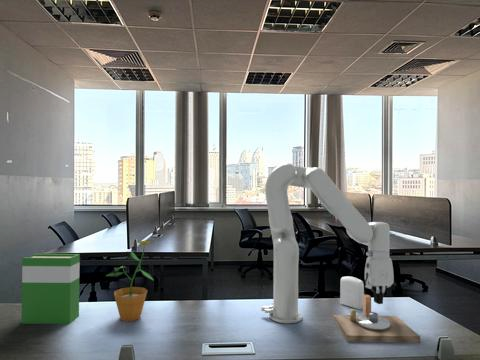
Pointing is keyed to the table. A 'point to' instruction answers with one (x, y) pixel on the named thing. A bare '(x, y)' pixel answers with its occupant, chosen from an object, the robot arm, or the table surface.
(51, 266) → the hardback book
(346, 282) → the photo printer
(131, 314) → the potted plant
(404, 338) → the walnut board
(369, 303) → the flange plate
